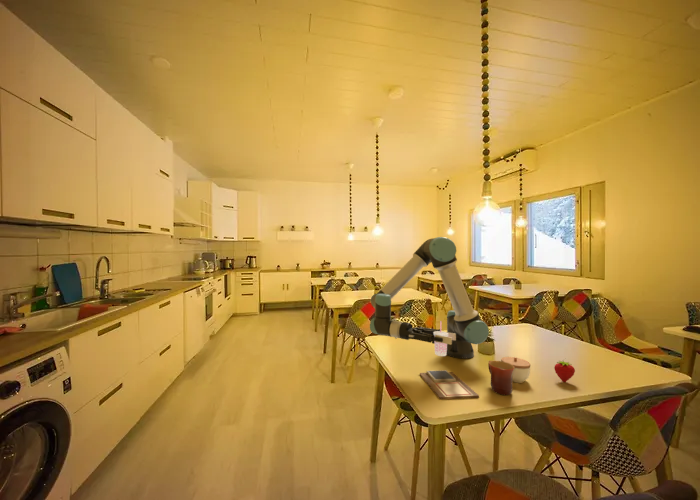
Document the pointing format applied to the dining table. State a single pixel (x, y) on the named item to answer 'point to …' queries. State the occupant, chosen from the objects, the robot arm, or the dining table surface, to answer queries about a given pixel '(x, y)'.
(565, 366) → the strawberry
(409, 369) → the dining table surface
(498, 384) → the mug
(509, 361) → the lidded jar
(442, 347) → the beverage cup
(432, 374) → the stamp board
